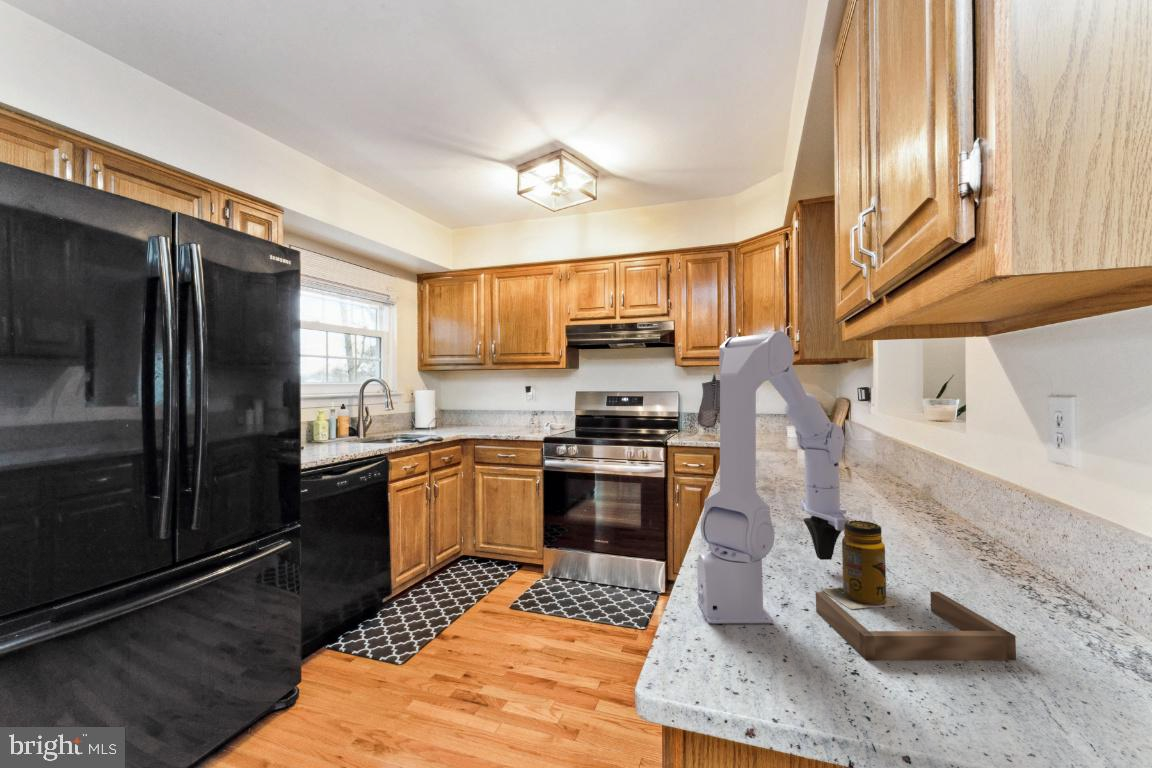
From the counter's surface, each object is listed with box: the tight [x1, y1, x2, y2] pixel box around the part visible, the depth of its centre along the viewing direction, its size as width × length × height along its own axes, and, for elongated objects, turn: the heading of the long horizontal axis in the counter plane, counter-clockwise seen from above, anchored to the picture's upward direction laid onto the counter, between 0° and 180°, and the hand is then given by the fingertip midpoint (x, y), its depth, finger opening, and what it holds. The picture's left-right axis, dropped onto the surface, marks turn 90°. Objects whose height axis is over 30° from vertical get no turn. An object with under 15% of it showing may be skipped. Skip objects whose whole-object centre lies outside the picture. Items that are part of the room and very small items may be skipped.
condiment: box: [821, 520, 901, 610], centre depth 78 cm, size 7×8×12 cm
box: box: [815, 590, 1017, 661], centre depth 66 cm, size 18×13×3 cm
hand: (824, 558), depth 89 cm, fingers closed
